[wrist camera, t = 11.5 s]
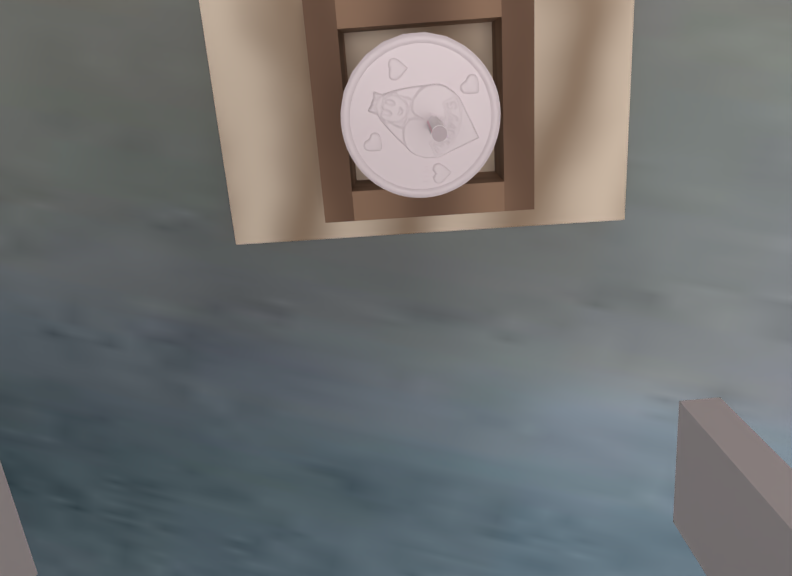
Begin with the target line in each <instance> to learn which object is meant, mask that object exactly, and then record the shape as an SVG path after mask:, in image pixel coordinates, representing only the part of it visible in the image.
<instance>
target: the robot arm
mask: <svg viewBox="0 0 792 576" xmlns="http://www.w3.org/2000/svg"><path fill="white" fill-rule="evenodd" d="M673 522H674V524H675V525H676V527H677V529H678V530H679V532H680V533H681V535H682V537H683V538H684V540H685V541H686V543H687V545H688V546H689V548H690V549H691V551H692V553H693V554H694V556H695V557H696V559H697V561H698V562H699V564H700V565H701V567H702V569H703V570H704V572H705V573H706V575H707V576H792V469H791V468H790V467H789V466H788V465H787V464H786V463H785V462H784V461H783V460H782V459H781V458H780V457H779V456H778V455H777V454H776V453H775V452H774V451H773V450H772V449H771V448H770V447H769V446H768V445H767V444H766V443H765V442H764V441H763V440H762V439H761V438H760V437H759V436H758V435H757V434H756V433H755V432H754V431H753V430H752V429H751V428H750V427H749V426H748V425H747V424H746V423H745V422H744V421H743V420H742V419H741V418H740V417H739V416H738V415H737V414H736V413H735V412H734V411H733V410H732V409H731V408H730V407H729V406H728V405H727V404H726V403H725V402H724V401H723V400H722V399H721V398H708V399H697V400H685V401H679V417H678V437H677V456H676V475H675V495H674V514H673ZM37 574H38V573H37V570H36V567H35V564H34V561H33V558H32V555H31V552H30V549H29V546H28V543H27V540H26V537H25V534H24V531H23V528H22V525H21V522H20V519H19V516H18V513H17V510H16V507H15V504H14V501H13V498H12V495H11V492H10V489H9V486H8V483H7V480H6V477H5V474H4V471H3V468H2V465H1V462H0V576H36V575H37Z"/></svg>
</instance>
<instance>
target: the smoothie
mask: <svg viewBox="0 0 792 576" xmlns="http://www.w3.org/2000/svg"><path fill="white" fill-rule="evenodd" d="M340 114H341V128H342V134H343V138H344V142H345V144H346V147H347V150H348V152H349V154H350V156H351V158H352V159H353V161H354V163H355V164H356V165H357V167H358V168H359V169H360V170H361V172H362V173H363V174H364V175H365V176H366V177H367V178H368V179H370V180H371V181H372V182H374V183H375V184H376V185H378V186H379V187H381V188H383V189H385V190H387V191H389V192H392V193H394V194H397V195H401V196H406V197H413V198H427V197H434V196H438V195H442V194H445V193H448V192H450V191H453V190H455V189H457V188H458V187H460V186H462V185H463V184H465V183H466V182H468V181H469V180H470V179H471V178H472V177H474V176H475V175H476V174H477V173H478V172H479V170H480V169H481V168H482V167H483V166H484V164H485V163H486V161H487V160H488V158H489V156H490V154H491V153H492V151H493V148H494V146H495V143H496V140H497V137H498V133H499V128H500V115H501V111H500V101H499V96H498V92H497V89H496V86H495V83H494V81H493V79H492V77H491V75H490V73H489V71H488V70H487V68H486V66H485V65H484V64H483V63H482V61H481V60H480V59H479V58H478V57H477V56H476V55H475V54H474V53H473V52H472V51H471V50H469V49H468V48H467V47H466V46H464V45H462V44H461V43H459V42H457V41H455V40H453V39H451V38H449V37H447V36H443V35H438V34H433V33H428V32H418V33H407V34H402V35H399V36H396V37H394V38H391V39H389V40H386V41H383V42H382V43H380V44H379V45H378V46H376V47H375V48H374V49H372V50H371V51H370V52H368V53H367V54H366V55H365V56H364V57H363V59H362V60H361V61H360V62H359V64H358V65H357V66H356V67H355V69H354V70H353V71H352V73H351V76H350V78H349V80H348V83H347V85H346V87H345V90H344V92H343V99H342V105H341V113H340Z"/></svg>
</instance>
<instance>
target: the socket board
mask: <svg viewBox="0 0 792 576" xmlns="http://www.w3.org/2000/svg"><path fill="white" fill-rule="evenodd" d="M199 4H200V10H201V17H202V24H203V30H204V37H205V43H206V50H207V56H208V63H209V70H210V76H211V83H212V89H213V96H214V102H215V109H216V116H217V122H218V129H219V135H220V142H221V149H222V155H223V162H224V168H225V175H226V181H227V188H228V195H229V201H230V208H231V214H232V221H233V227H234V234H235V241H236V245H239V244H255V243H270V242H286V241H301V240H317V239H332V238H348V237H363V236H379V235H395V234H410V233H426V232H441V231H457V230H472V229H488V228H503V227H519V226H534V225H550V224H565V223H581V222H596V221H612V220H624V218H625V196H626V174H627V152H628V129H629V107H630V85H631V63H632V41H633V18H634V0H199ZM418 32H428V33H433V34H438V35H443V36H447V37H449V38H451V39H453V40H455V41H457V42H459V43H461V44H462V45H464V46H466V47H467V48H468V49H469V50H471V51H472V52H473V53H474V54H475V55H476V56H477V57H478V58H479V59H480V60H481V61H482V63H483V64H484V65H485V66H486V68H487V70H488V71H489V73H490V75H491V77H492V79H493V81H494V83H495V86H496V89H497V92H498V96H499V101H500V111H501V115H500V128H499V133H498V137H497V140H496V143H495V146H494V148H493V151H492V153H491V154H490V156H489V158H488V160H487V161H486V163H485V164H484V166H483V167H482V168H481V169H480V170H479V172H478V173H477V174H476V175H475V176H474V177H472V178H471V179H470V180H469V181H468V182H466V183H465V184H463V185H462V186H460V187H458V188H457V189H455V190H453V191H450V192H448V193H445V194H442V195H438V196H434V197H427V198H413V197H406V196H401V195H397V194H394V193H392V192H389V191H387V190H385V189H383V188H381V187H379V186H378V185H376V184H375V183H374V182H372V181H371V180H370V179H368V178H367V177H366V176H365V175H364V174H363V173H362V172H361V170H360V169H359V168H358V167H357V165H356V164H355V163H354V161H353V159H352V158H351V156H350V154H349V152H348V150H347V147H346V144H345V142H344V138H343V134H342V128H341V114H340V113H341V105H342V99H343V92H344V90H345V87H346V85H347V83H348V80H349V78H350V76H351V73H352V71H353V70H354V69H355V67H356V66H357V65H358V64H359V62H360V61H361V60H362V59H363V57H364V56H365V55H366V54H367V53H368V52H370V51H371V50H372V49H374V48H375V47H376V46H378V45H379V44H380V43H382V42H383V41H386V40H389V39H391V38H394V37H396V36H399V35H402V34H407V33H418Z"/></svg>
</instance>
